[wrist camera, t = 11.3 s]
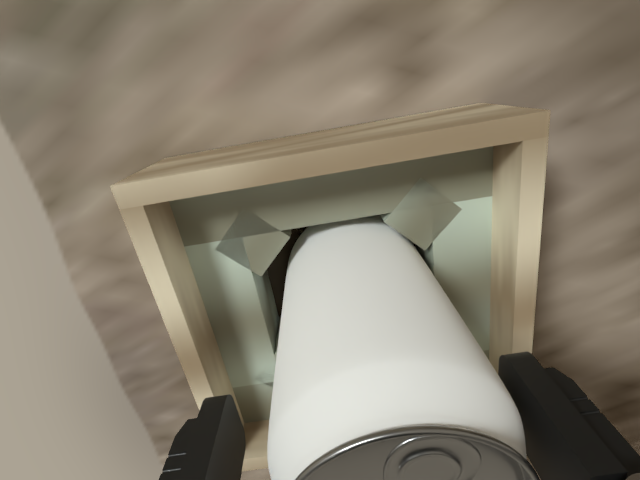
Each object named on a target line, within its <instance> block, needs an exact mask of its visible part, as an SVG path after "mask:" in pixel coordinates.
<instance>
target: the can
mask: <svg viewBox="0 0 640 480" xmlns="http://www.w3.org/2000/svg"><path fill="white" fill-rule="evenodd" d="M267 460H268V468H269V473H270V477H271V480H540V479H539V477H538V475H537V473H536V472H535V470H534V469H533V467H532V466H531V465H530V463H529V462H528V461H527V459H526V444H525V435H524V429H523V424H522V420H521V416H520V414H519V411H518V409H517V407H516V405H515V403H514V401H513V399H512V397H511V395H510V393H509V392H508V390H507V388H506V387H505V385H504V383H503V382H502V380H501V379H500V377H499V375H498V374H497V372H496V371H495V369H494V367H493V366H492V364H491V363H490V361H489V360H488V358H487V356H486V355H485V353H484V352H483V350H482V349H481V347H480V346H479V344H478V343H477V341H476V339H475V338H474V336H473V335H472V333H471V332H470V330H469V329H468V327H467V326H466V324H465V322H464V321H463V319H462V318H461V316H460V315H459V313H458V312H457V310H456V309H455V307H454V306H453V304H452V303H451V301H450V299H449V298H448V296H447V295H446V293H445V292H444V290H443V289H442V287H441V286H440V284H439V283H438V281H437V280H436V278H435V277H434V275H433V274H432V272H431V270H430V269H429V267H428V266H427V264H426V263H425V261H424V260H423V258H422V257H421V255H420V254H419V252H418V251H417V249H416V248H415V246H414V245H413V243H412V242H411V241H410V240H409V239H408V238H406V237H405V236H403V235H402V234H401V233H399V232H398V231H396V230H395V229H393V228H392V227H391V226H389V225H388V224H386V223H385V222H384V221H383V219H382V217H381V215H374V216H368V217H362V218H356V219H350V220H343V221H337V222H331V223H325V224H319V225H313V226H309V227H308V228H307V229H306V230H305V231H304V232H303V233H302V234H301V235H300V236H299V238H298V239H297V241H296V242H295V244H294V246H293V248H292V251H291V254H290V257H289V261H288V267H287V274H286V281H285V289H284V297H283V305H282V314H281V322H280V330H279V339H278V347H277V356H276V365H275V373H274V382H273V391H272V400H271V410H270V419H269V430H268V442H267Z"/></svg>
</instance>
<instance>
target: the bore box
mask: <svg viewBox="0 0 640 480" xmlns="http://www.w3.org/2000/svg"><path fill="white" fill-rule="evenodd" d="M549 123H550V110H544V109H534V108H524V107H515V106H505V105H495V104H486V103H477V104H472V105H466V106H460V107H454V108H449V109H443V110H437V111H431V112H426V113H420V114H414V115H409V116H403V117H397V118H391V119H386V120H380V121H374V122H368V123H363V124H357V125H351V126H346V127H340V128H334V129H328V130H323V131H317V132H311V133H305V134H300V135H294V136H288V137H283V138H277V139H271V140H265V141H260V142H254V143H248V144H242V145H237V146H231V147H225V148H220V149H214V150H208V151H202V152H197V153H191V154H185V155H179V156H174V157H168V158H165V159H163V160H161V161H159V162H157V163H155V164H153V165H151V166H149V167H147V168H145V169H143V170H141V171H139V172H137V173H135V174H133V175H131V176H129V177H127V178H125V179H123V180H121V181H119V182H117V183H115V184H113V185H111V186H110V187H111V190H112V192H113V195H114V197H115V200H116V202H117V205H118V207H119V210H120V212H121V215H122V217H123V220H124V223H125V225H126V228H127V230H128V233H129V235H130V238H131V240H132V243H133V245H134V248H135V250H136V253H137V255H138V258H139V260H140V263H141V265H142V268H143V270H144V273H145V275H146V278H147V280H148V283H149V285H150V288H151V290H152V293H153V295H154V298H155V300H156V303H157V305H158V308H159V310H160V313H161V315H162V318H163V320H164V323H165V325H166V328H167V330H168V333H169V335H170V338H171V340H172V343H173V345H174V348H175V350H176V353H177V355H178V358H179V360H180V363H181V365H182V368H183V370H184V373H185V375H186V378H187V380H188V383H189V385H190V388H191V390H192V393H193V395H194V398H195V400H196V403H197V405H198V408H199V410H200V408H201V405H202V402H203V400H204V399H205V398H208V397H215V396H222V395H229V394H230V395H232V397H233V399H234V402H235V405H236V408H237V411H238V413H239V416H240V419H241V422H242V425H243V428H244V432H245V441H246V446H245V455H244V461H243V466H242V471H249V470H257V469H264V468H268V460H267V442H268V430H269V419H270V410H271V400H272V391H273V382H274V373H275V365H276V356H277V347H278V339H279V330H280V322H281V316H280V317H279V315H278V311H277V307H276V303H275V299H274V295H273V291H272V287H271V283H270V279H269V275H268V271H267V268H268V267H269V265H270V264H271V263H272V261H273V260H274V259H275V257H276V256H277V255H278V253H279V252H280V251H281V249H282V248H283V246H284V245H285V244H286V242H287V241H288V240H289V238H290V236H291V229H295V228H301V227H307V226H313V225H319V224H325V223H331V222H337V221H343V220H350V219H356V218H362V217H368V216H374V215H381V217H382V219H383V221H384V222H385V223H386V224H388V225H389V226H391V227H392V228H393V229H395V230H396V231H398V232H399V233H401V234H402V235H403V236H405V237H406V238H408V239H409V240H411V241H412V242H413V243H415V244H416V249H417V251H418V252H419V254H420V255H421V257H422V258H423V260H424V261H425V263H426V264H427V266H428V267H429V269H430V270H431V272H432V274H433V275H434V277H435V278H436V280H437V281H438V283H439V284H440V286H441V287H442V289H443V290H444V292H445V293H446V295H447V296H448V298H449V299H450V301H451V303H452V304H453V306H454V307H455V309H456V310H457V312H458V313H459V315H460V316H461V318H462V319H463V321H464V322H465V324H466V326H467V327H468V329H469V330H470V332H471V333H472V335H473V336H474V338H475V339H476V341H477V343H478V344H479V346H480V347H481V349H482V350H483V352H484V353H485V355H486V356H487V358H488V360H489V361H490V363H491V364H492V366H493V367H494V369H495V371H496V372H497V374H498V369H499V357H500V356H501V355H506V354H513V353H520V352H526V351H527V352H530V353H531V354H532V345H533V332H534V319H535V306H536V293H537V280H538V267H539V254H540V241H541V227H542V214H543V201H544V188H545V175H546V162H547V149H548V136H549Z"/></svg>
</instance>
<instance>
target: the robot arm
mask: <svg viewBox="0 0 640 480" xmlns="http://www.w3.org/2000/svg"><path fill="white" fill-rule="evenodd" d="M498 375H499V377H500V379H501V380H502V382H503V383H504V385H505V387H506V388H507V390H508V392H509V393H510V395H511V397H512V399H513V401H514V403H515V405H516V407H517V409H518V411H519V414H520V416H521V420H522V424H523V429H524V435H525V444H526V454H527V456H528V458H529V459H530V461H531V463H532V465H533V466H534V468H535V470H536V471H537V473H538V475H539V477H540V478H541V480H640V456H639V455H638V454H637V452H636V451H635V450H634V449H633V448H632V447H631V446H630V444H629V443H628V442H627V441H626V440H625V439H624V438H623V437H622V435H621V434H620V433H619V432H618V431H617V430H616V429H615V427H614V426H613V425H612V424H611V423H610V422H609V421H608V420H607V418H606V417H605V416H604V415H603V414H601V413H600V412H599V409H598V408H597V407H596V406H595V405H594V404H593V402H592V401H591V400H588V398H587V396H586V395H585V393H584V392H583V391H582V390H581V389H580V388H579V387H578V385H577V384H576V383H575V382H574V381H573V380H572V379H570V378H569V377H567V376H566V375H564V374H563V373H561V372H559V371H558V370H556V369H555V368H553V367H552V368H545V369H544V368H543V367H542V366H541V365H540V364H539V362H538V361H537V360H536V359H535V357H534V356H533V355H532V354H531V353H530V352H527V351H526V352H520V353H513V354H506V355H501V356H500V357H499V369H498ZM245 446H246V441H245V432H244V428H243V425H242V422H241V419H240V416H239V413H238V411H237V408H236V405H235V402H234V399H233V397H232V395H230V394H229V395H222V396H215V397H208V398H205V399H204V400H203V402H202V405H201V408H200V411H199V414H198V417H197V418H195V419H188V420H187V421H186V423H185V424H184V425H183V427H182V428H181V429H180V431H179V432H178V433H177V434H176V436H175V438H174V441H173V443H172V446H171V449H170V451H169V454H168V455H169V457H168V458H167V459H166V462H165V465H164V467H163V473H162V474H161V475H160V478H159V480H240V478H241V472H242V466H243V461H244V455H245Z"/></svg>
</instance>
